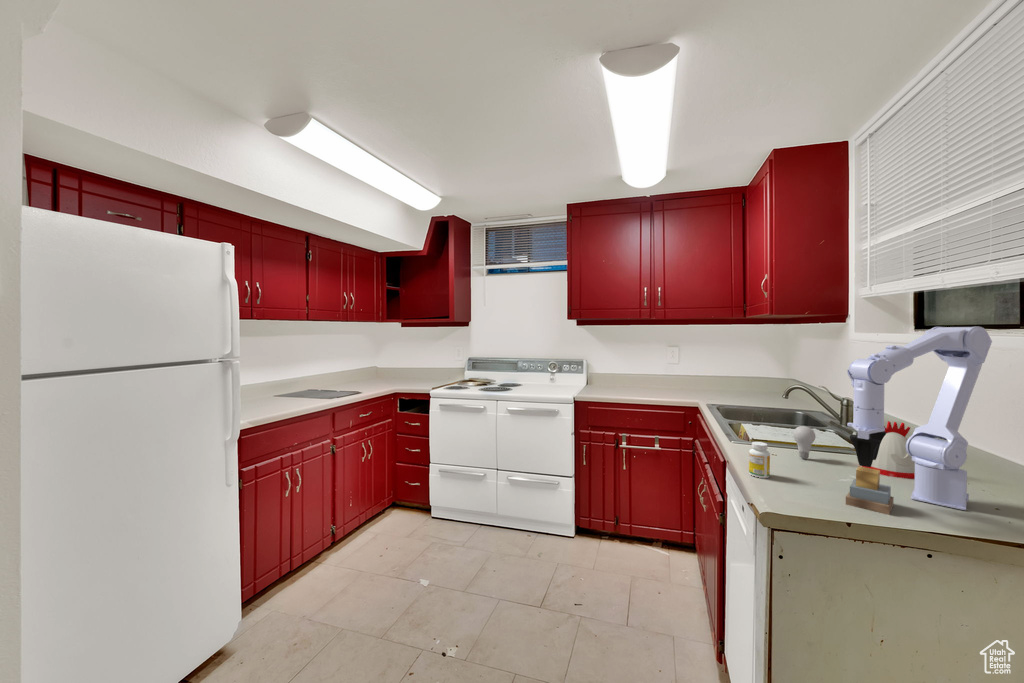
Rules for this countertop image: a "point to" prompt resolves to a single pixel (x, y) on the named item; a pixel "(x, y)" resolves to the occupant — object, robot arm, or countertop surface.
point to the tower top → (871, 493)
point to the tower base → (870, 504)
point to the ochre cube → (867, 478)
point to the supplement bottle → (759, 460)
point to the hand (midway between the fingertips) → (867, 462)
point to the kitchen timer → (894, 454)
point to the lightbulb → (804, 440)
